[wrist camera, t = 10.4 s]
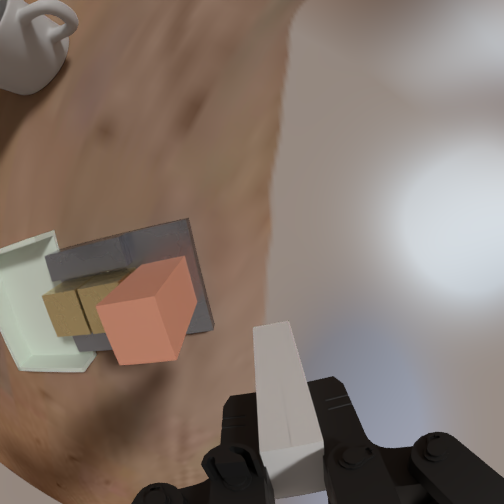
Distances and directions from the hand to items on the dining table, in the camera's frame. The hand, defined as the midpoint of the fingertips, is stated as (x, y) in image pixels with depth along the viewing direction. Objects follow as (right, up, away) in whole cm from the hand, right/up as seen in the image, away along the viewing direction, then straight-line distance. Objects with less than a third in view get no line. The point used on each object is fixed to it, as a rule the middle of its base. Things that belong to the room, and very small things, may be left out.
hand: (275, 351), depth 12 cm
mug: (-22, +25, +8) cm, 34 cm away
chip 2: (-13, +1, +13) cm, 18 cm away
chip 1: (-17, 0, +13) cm, 21 cm away
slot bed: (-12, +1, +14) cm, 18 cm away
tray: (-25, -1, +14) cm, 28 cm away
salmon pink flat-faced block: (-8, +2, +13) cm, 15 cm away
